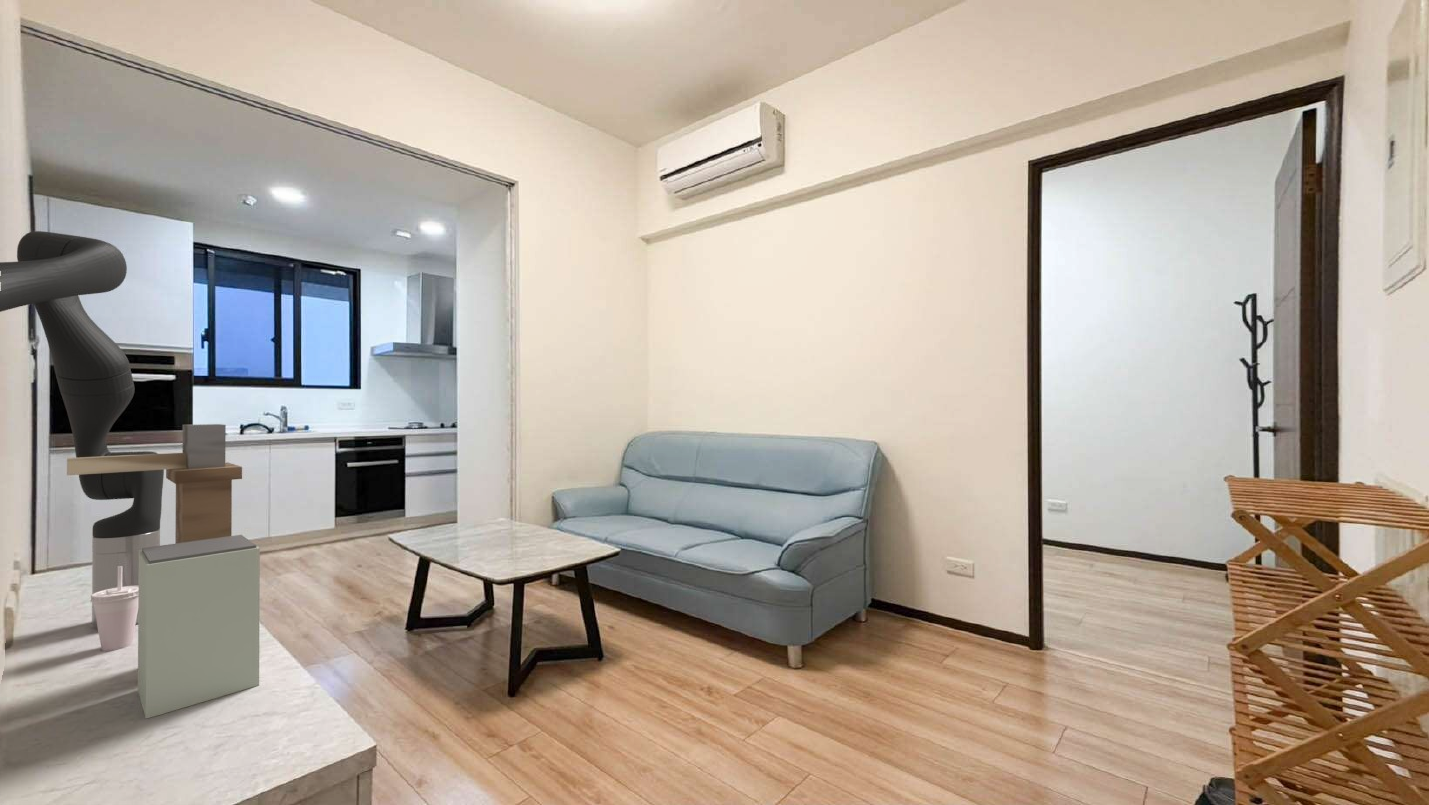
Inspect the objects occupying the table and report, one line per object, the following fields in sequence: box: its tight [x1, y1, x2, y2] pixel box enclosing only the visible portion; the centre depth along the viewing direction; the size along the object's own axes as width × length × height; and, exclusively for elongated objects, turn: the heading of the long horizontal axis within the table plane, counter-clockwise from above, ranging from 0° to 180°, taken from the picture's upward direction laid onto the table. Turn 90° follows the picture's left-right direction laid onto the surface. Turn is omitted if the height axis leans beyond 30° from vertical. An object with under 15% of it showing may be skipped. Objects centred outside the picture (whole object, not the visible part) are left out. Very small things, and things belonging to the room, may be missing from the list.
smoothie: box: [89, 566, 139, 652], centre depth 98 cm, size 6×6×14 cm
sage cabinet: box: [137, 534, 261, 719], centre depth 84 cm, size 12×12×21 cm
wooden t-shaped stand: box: [165, 462, 243, 544], centre depth 94 cm, size 12×8×32 cm, turn 49°
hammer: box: [66, 423, 227, 476], centre depth 89 cm, size 7×17×7 cm, turn 139°
